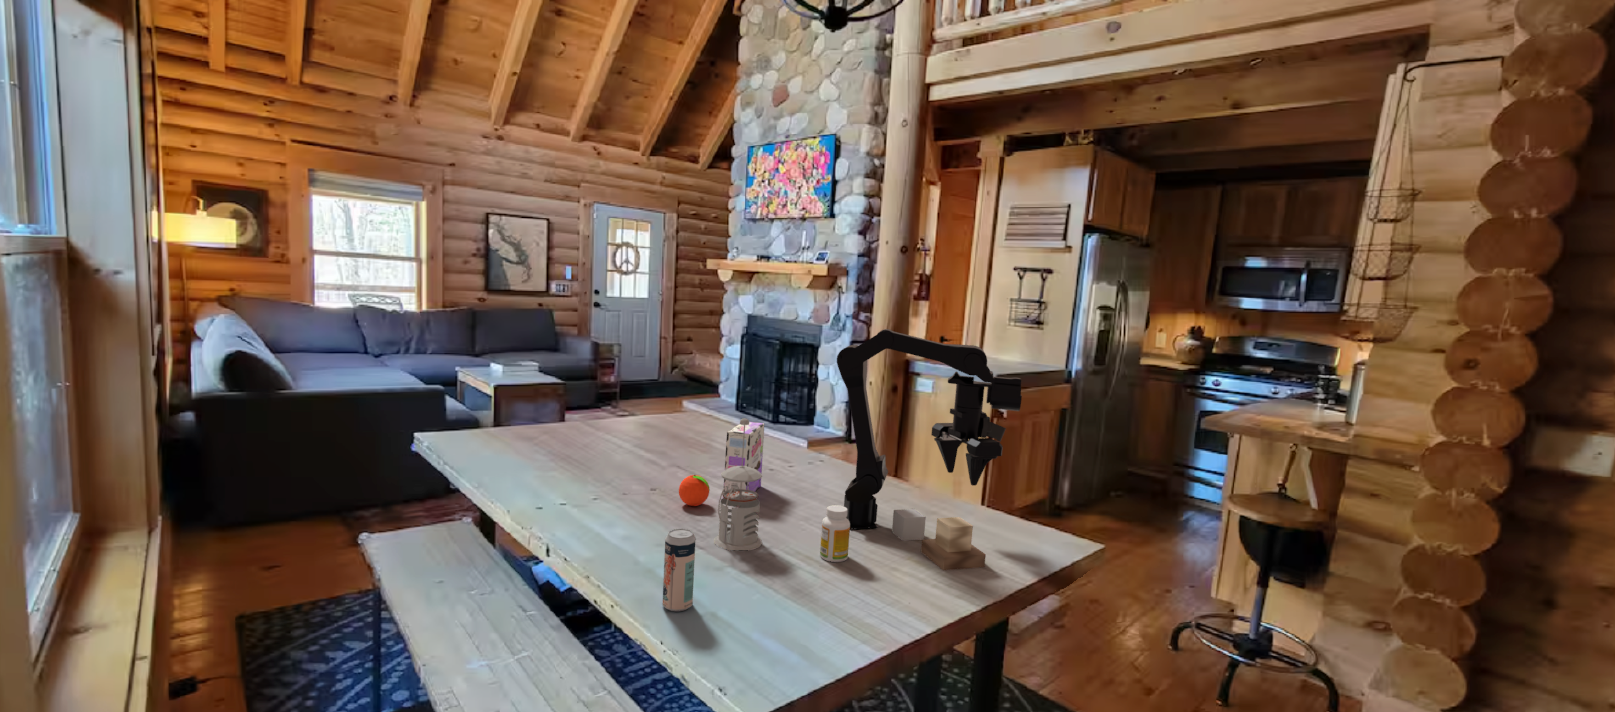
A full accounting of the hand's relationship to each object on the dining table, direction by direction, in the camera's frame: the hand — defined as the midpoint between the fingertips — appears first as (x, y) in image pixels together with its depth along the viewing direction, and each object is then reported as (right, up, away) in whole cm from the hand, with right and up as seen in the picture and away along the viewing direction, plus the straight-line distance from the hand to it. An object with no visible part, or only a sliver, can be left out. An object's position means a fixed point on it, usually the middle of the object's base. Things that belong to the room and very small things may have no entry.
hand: (961, 478), depth 147 cm
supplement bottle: (-28, -13, -13) cm, 33 cm away
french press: (-47, -11, -9) cm, 49 cm away
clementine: (-58, -8, +11) cm, 60 cm away
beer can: (-53, -14, -37) cm, 66 cm away
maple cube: (-4, -12, -10) cm, 16 cm away
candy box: (-48, -8, +23) cm, 54 cm away
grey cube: (-11, -12, +1) cm, 17 cm away
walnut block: (-4, -15, -10) cm, 18 cm away
